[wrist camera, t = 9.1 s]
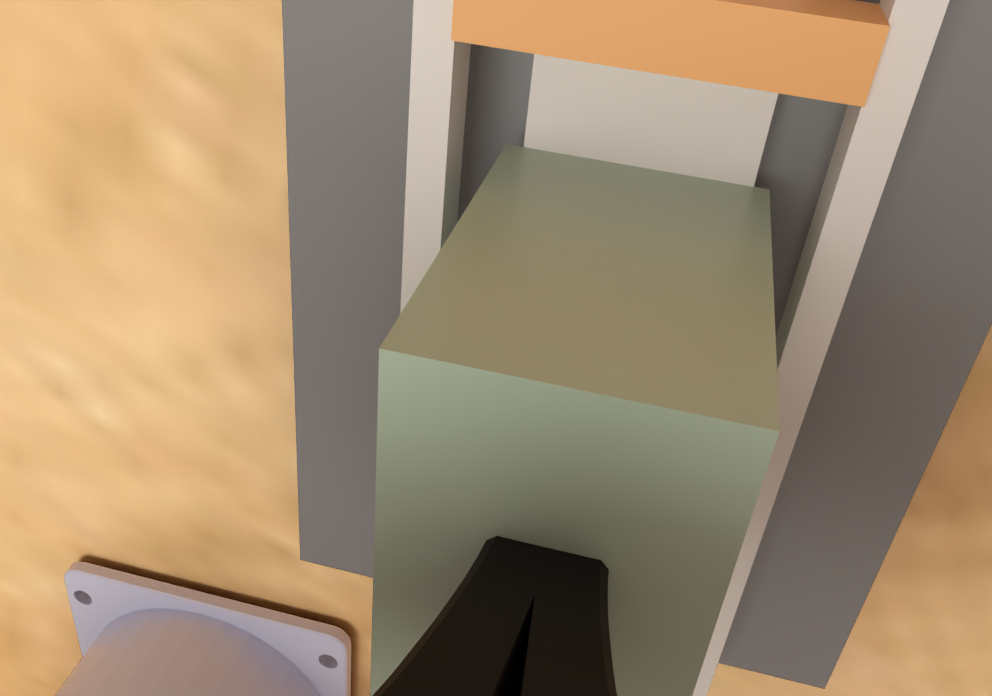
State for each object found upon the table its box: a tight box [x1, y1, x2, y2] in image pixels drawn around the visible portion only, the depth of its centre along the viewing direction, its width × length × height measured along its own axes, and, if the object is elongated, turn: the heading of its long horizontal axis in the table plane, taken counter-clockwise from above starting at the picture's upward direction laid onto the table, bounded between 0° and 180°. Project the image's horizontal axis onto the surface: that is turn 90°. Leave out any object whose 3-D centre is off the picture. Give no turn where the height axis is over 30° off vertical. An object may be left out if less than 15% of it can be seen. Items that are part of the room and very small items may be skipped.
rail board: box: [282, 0, 992, 696], centre depth 16 cm, size 16×12×3 cm
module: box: [370, 144, 780, 696], centre depth 13 cm, size 6×4×6 cm, turn 174°
